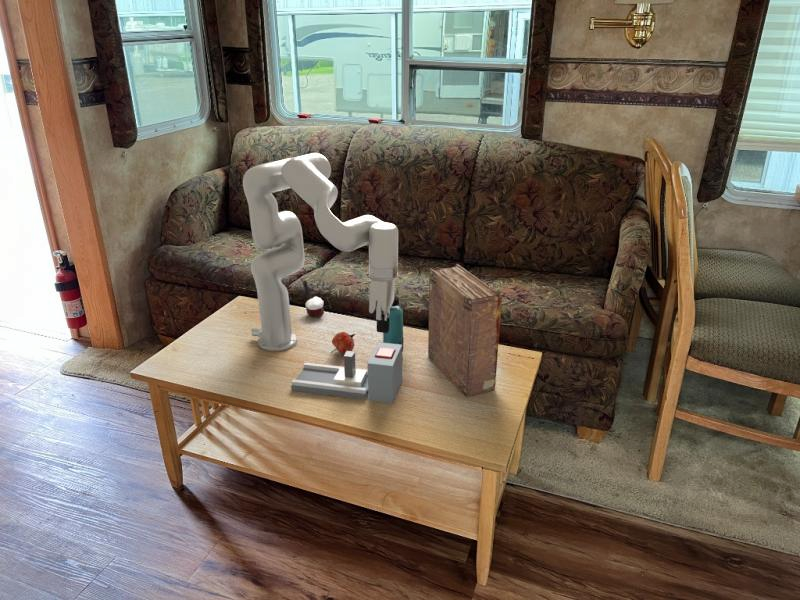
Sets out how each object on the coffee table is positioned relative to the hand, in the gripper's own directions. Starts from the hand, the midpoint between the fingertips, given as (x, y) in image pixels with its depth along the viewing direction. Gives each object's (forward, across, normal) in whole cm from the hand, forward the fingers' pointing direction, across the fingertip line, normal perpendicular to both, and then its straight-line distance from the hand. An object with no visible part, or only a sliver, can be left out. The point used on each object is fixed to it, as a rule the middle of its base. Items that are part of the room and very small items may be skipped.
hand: (382, 331), depth 171 cm
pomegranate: (+20, -17, -17) cm, 32 cm away
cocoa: (+21, -41, -35) cm, 58 cm away
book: (+19, -14, +21) cm, 31 cm away
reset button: (+10, 0, +1) cm, 10 cm away
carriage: (+18, 0, -9) cm, 20 cm away
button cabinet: (+19, 0, +1) cm, 19 cm away
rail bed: (+19, 0, -14) cm, 24 cm away
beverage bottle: (+19, -19, -1) cm, 27 cm away
